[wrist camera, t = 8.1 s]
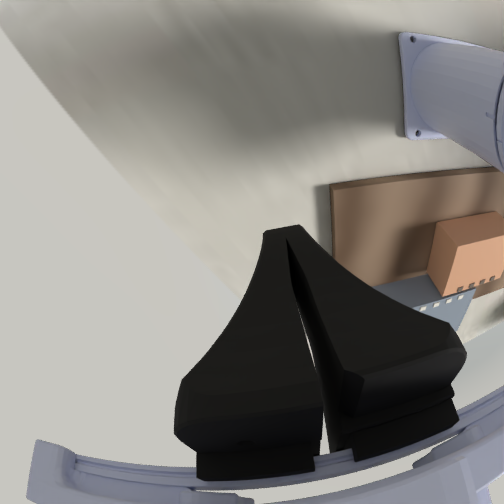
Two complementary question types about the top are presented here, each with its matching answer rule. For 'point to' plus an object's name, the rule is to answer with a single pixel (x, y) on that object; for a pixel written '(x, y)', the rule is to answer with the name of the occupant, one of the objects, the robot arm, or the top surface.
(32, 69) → the top surface
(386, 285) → the block
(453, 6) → the top surface
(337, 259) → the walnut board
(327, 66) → the top surface
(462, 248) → the tan rectangular block
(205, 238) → the top surface
